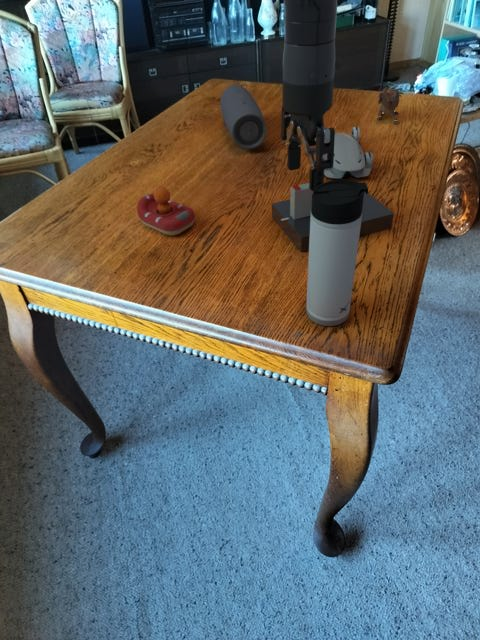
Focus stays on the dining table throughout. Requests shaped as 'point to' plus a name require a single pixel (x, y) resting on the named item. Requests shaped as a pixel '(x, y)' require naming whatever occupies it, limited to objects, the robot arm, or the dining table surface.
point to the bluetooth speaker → (243, 117)
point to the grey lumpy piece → (349, 157)
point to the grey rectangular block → (300, 201)
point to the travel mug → (333, 249)
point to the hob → (299, 229)
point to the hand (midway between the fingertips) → (304, 178)
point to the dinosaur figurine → (389, 102)
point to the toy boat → (164, 213)
